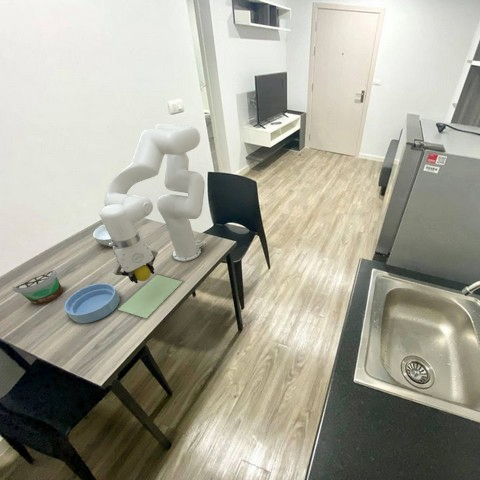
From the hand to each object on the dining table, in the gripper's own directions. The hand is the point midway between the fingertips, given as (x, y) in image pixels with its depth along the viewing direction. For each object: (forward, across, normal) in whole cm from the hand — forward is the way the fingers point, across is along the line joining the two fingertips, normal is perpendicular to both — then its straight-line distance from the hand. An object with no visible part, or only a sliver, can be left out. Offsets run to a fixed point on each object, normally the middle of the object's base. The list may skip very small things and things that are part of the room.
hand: (143, 276), depth 100 cm
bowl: (+11, -15, +11) cm, 22 cm away
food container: (+11, -23, +29) cm, 38 cm away
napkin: (+11, 0, 0) cm, 11 cm away
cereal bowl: (+11, +10, +47) cm, 49 cm away
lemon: (+2, 0, 0) cm, 2 cm away
